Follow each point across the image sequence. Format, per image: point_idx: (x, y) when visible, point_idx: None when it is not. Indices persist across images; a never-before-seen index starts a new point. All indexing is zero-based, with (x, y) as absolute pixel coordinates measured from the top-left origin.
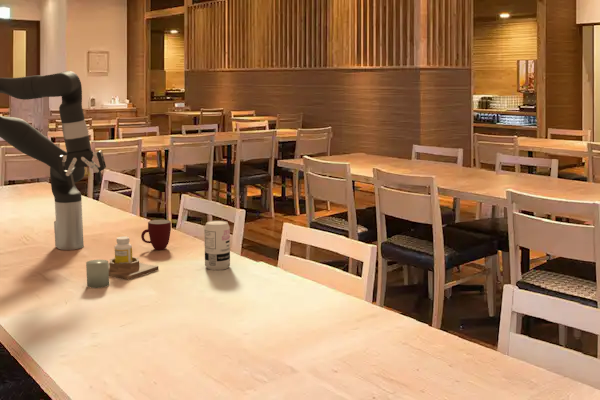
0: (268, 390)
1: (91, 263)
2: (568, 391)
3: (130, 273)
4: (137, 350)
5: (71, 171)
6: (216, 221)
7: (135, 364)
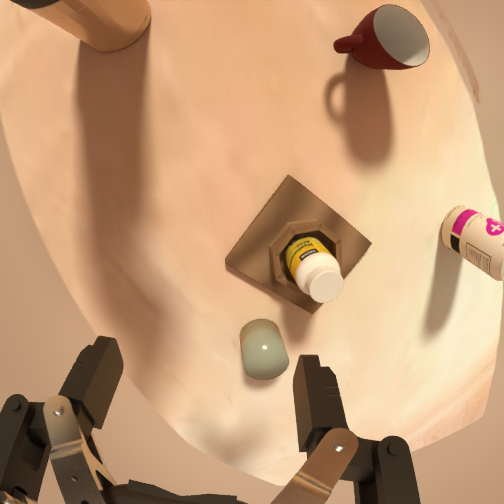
0: None
1: (256, 371)
2: (476, 419)
3: None
4: None
5: (100, 456)
6: None
7: None
